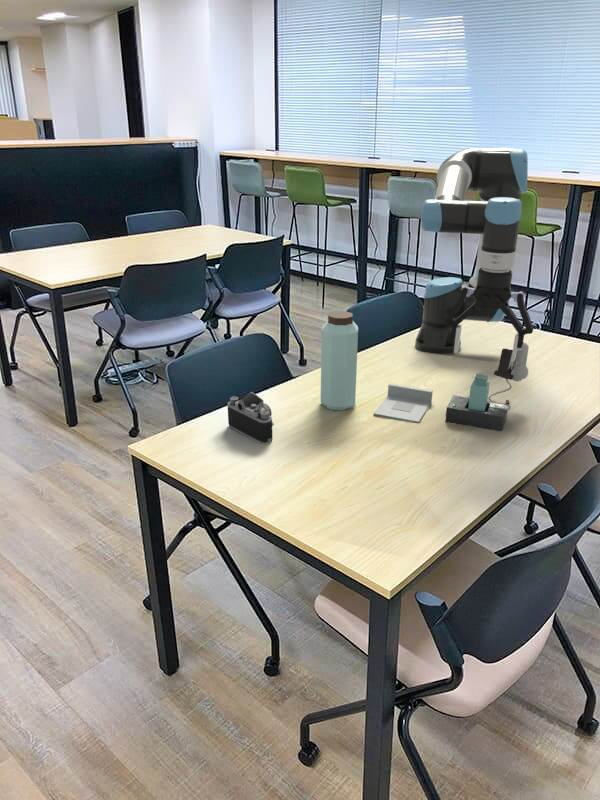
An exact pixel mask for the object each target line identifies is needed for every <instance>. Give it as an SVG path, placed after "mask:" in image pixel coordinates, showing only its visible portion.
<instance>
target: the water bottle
mask: <svg viewBox="0 0 600 800" xmlns="http://www.w3.org/2000/svg"><path fill="white" fill-rule="evenodd" d="M353 314H354V313H353V312H349V311H346V310H336V311H334V310H333V311H331V312H328V315H327V321H326V322H325V323H324V324H322V327H321V347H320V348H321V352H320V403H321V405H322V406H324V407H325V408H327V409H329V410H331V411H345V410H347V409H351V408H352V407H353V406H354V405H355V404H356V396H357V395H356V392H357V391H356V388H357V369H358V368H357V366H358V365H357V364H358V347H359V346H358V343H359V341H358V339H359V326H358V325H357V324H356V323H355V321H354V320H353V319H354V317H353Z"/></svg>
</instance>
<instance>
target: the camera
mask: <svg viewBox="0 0 600 800" xmlns="http://www.w3.org/2000/svg"><path fill="white" fill-rule="evenodd" d="M227 420H228V421H227V422H228V427H229V428H230V429H232V430H234V431H236V432H238V433H240V434H242V435H243V434H244V436H245V435H246V437H247V438H249V439H252V441H255V442H257V441H258V442H257V443H259V442H260V443H259V444H261V443H269V444H271V443H273V441H272V440H273V427H274V424H275V423H274V422H273V417H272V409H271V407H270V406H269V405H268V404H267V403H265V401H264V399H262V397H260V396H259V395H257V394H256V393H254V392H253V391H250V392H249V393H248V394H246V395H245V396H244V397H242V398H241V399H239V397H238V396H231V397H230V398H229V401H228V402H227ZM270 442H271V443H270Z"/></svg>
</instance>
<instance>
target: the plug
mask: <svg viewBox="0 0 600 800" xmlns="http://www.w3.org/2000/svg"><path fill="white" fill-rule="evenodd" d="M488 378H489V376H488V375H487V374H481V373H476V374H475V376H474V379H473V380H472V382H471V384H470V388H469V389H470V390H469V397H468V398H469V406H468V409H472V410H478V411H484V412H486V408H487V401H489V391H490V384H491V383H490V382H489V381H488V380H489V379H488Z"/></svg>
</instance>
